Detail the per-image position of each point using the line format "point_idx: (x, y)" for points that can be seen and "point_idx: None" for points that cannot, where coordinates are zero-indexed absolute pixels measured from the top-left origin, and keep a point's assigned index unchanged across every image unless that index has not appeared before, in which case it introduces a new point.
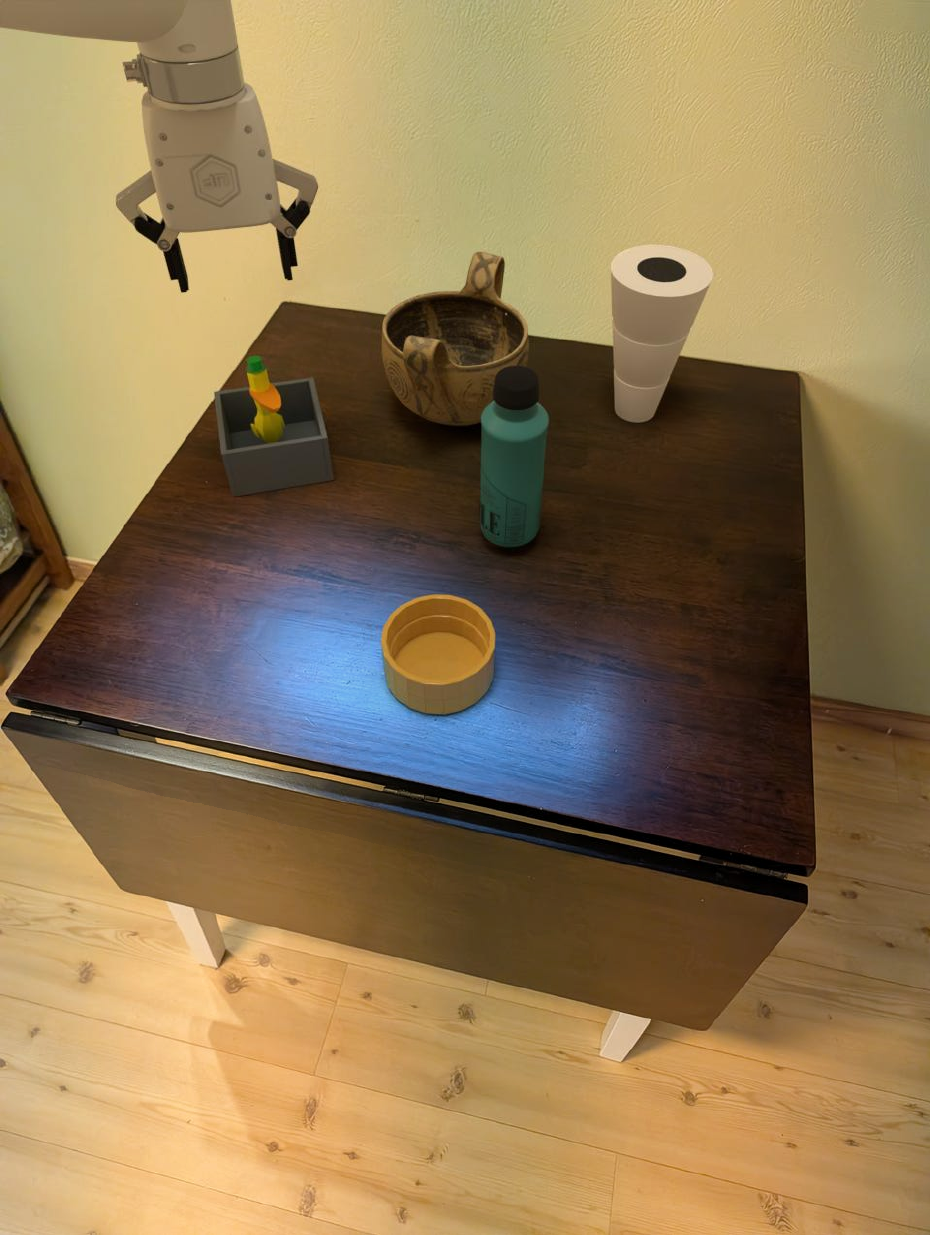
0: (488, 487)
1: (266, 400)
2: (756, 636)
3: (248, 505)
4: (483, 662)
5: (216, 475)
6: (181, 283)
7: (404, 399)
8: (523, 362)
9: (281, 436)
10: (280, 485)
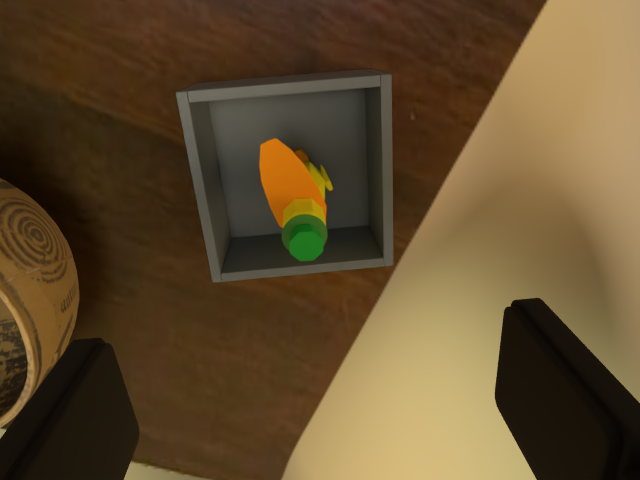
0: None
1: (290, 167)
2: None
3: (347, 41)
4: None
5: (396, 131)
6: (546, 319)
7: (32, 207)
8: None
9: None
10: (290, 75)
